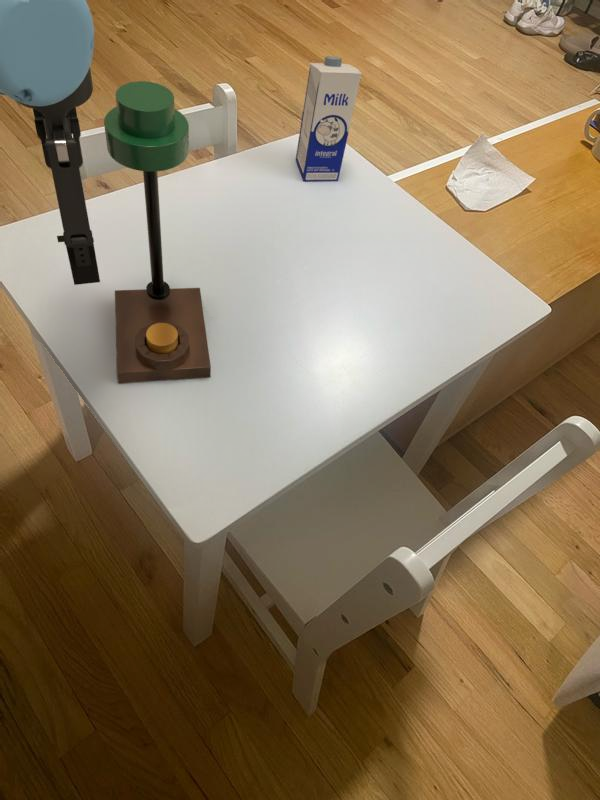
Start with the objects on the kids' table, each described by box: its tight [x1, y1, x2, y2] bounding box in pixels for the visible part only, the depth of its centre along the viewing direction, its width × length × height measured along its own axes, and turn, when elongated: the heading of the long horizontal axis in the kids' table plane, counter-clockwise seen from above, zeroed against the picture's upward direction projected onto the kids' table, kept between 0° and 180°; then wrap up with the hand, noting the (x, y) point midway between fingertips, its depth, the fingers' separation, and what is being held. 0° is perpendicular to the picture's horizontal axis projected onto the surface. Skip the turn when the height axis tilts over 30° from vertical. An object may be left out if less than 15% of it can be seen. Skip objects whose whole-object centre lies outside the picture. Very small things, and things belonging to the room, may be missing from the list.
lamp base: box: [114, 287, 212, 384], centre depth 83 cm, size 12×15×4 cm
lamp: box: [103, 80, 190, 300], centre depth 74 cm, size 9×9×27 cm
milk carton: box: [295, 55, 363, 182], centre depth 105 cm, size 7×7×20 cm
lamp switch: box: [146, 323, 178, 354], centre depth 79 cm, size 4×4×2 cm
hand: (79, 240), depth 70 cm, fingers open, 13 cm apart
